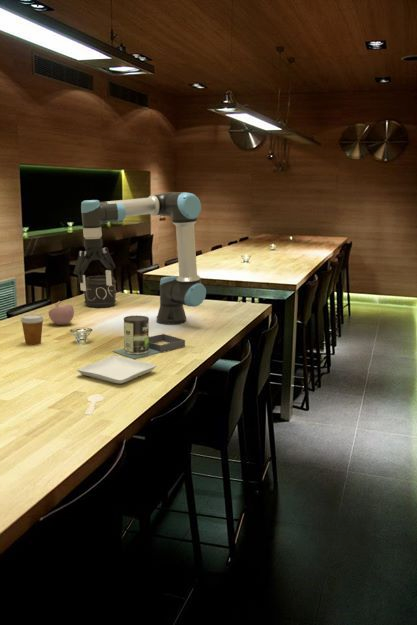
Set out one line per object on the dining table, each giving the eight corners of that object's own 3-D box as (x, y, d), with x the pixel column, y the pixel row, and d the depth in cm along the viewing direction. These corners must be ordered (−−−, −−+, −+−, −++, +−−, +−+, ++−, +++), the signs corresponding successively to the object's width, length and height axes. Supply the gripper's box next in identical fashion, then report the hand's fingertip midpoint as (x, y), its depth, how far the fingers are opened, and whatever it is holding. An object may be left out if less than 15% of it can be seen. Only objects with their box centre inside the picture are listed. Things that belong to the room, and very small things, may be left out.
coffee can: (152, 348, 253) (151, 316, 250) (144, 355, 244) (144, 321, 241) (128, 347, 255) (128, 314, 252) (120, 353, 246) (120, 319, 243)
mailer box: (163, 340, 269) (163, 333, 268) (184, 346, 259) (185, 339, 259) (112, 351, 249) (112, 344, 249) (133, 359, 240) (133, 351, 239)
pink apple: (66, 320, 302) (65, 298, 300) (79, 325, 294) (78, 302, 292) (44, 324, 294) (43, 301, 292) (57, 328, 286) (56, 305, 283)
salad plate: (120, 389, 206) (120, 379, 206) (75, 377, 217) (75, 368, 217) (158, 373, 224) (158, 364, 223) (114, 363, 235) (114, 354, 234)
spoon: (79, 415, 182) (79, 414, 182) (89, 395, 200) (89, 393, 199) (97, 416, 182) (97, 414, 182) (105, 395, 200) (105, 394, 200)
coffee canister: (114, 308, 332) (113, 280, 329) (81, 308, 332) (81, 280, 329) (119, 302, 350) (119, 275, 346) (88, 301, 350) (88, 275, 347)
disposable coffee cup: (49, 342, 262) (48, 315, 260) (36, 347, 253) (34, 319, 251) (30, 339, 265) (29, 313, 263) (17, 345, 256) (15, 317, 254)
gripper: (110, 234, 262) (114, 282, 267) (62, 240, 244) (66, 291, 249) (121, 235, 257) (124, 284, 262) (73, 241, 239) (77, 293, 244)
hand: (96, 287), depth 256 cm, fingers open, 13 cm apart
